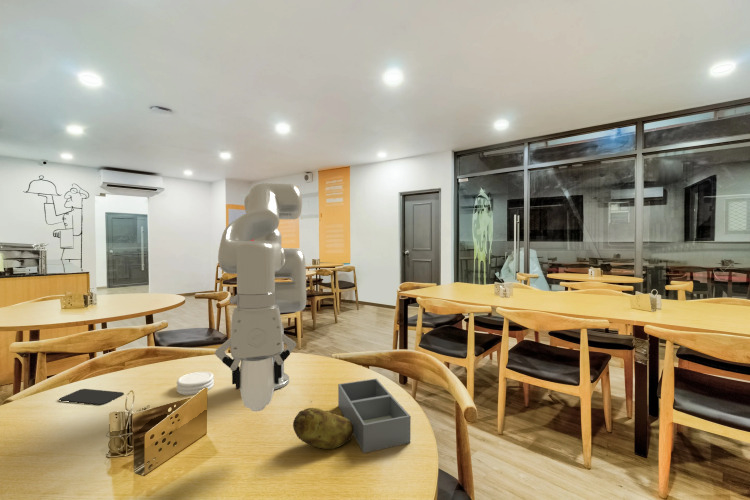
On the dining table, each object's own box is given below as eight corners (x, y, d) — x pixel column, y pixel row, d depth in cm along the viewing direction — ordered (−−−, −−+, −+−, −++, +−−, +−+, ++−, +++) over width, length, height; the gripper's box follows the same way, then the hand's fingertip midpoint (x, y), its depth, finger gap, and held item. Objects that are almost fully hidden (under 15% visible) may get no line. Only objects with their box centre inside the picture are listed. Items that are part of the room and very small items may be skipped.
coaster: (215, 380, 113) (215, 369, 113) (211, 393, 104) (211, 381, 103) (180, 384, 110) (180, 373, 110) (173, 398, 100) (173, 385, 100)
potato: (350, 457, 73) (350, 419, 73) (289, 455, 74) (289, 418, 73) (354, 434, 81) (354, 400, 81) (300, 433, 82) (299, 399, 82)
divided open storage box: (338, 405, 95) (338, 384, 95) (376, 399, 99) (376, 378, 99) (363, 452, 75) (363, 425, 74) (410, 442, 78) (410, 416, 78)
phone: (102, 404, 95) (56, 399, 98) (102, 407, 95) (56, 402, 98) (125, 392, 103) (82, 388, 105) (126, 395, 103) (82, 391, 105)
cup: (262, 438, 80) (260, 348, 79) (283, 449, 76) (282, 354, 75) (233, 454, 74) (231, 357, 73) (254, 467, 70) (252, 364, 69)
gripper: (208, 307, 67) (210, 398, 68) (300, 301, 73) (301, 385, 74) (212, 300, 74) (214, 383, 75) (296, 295, 80) (296, 372, 81)
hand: (257, 383), depth 74 cm, fingers closed on cup, 7 cm apart
